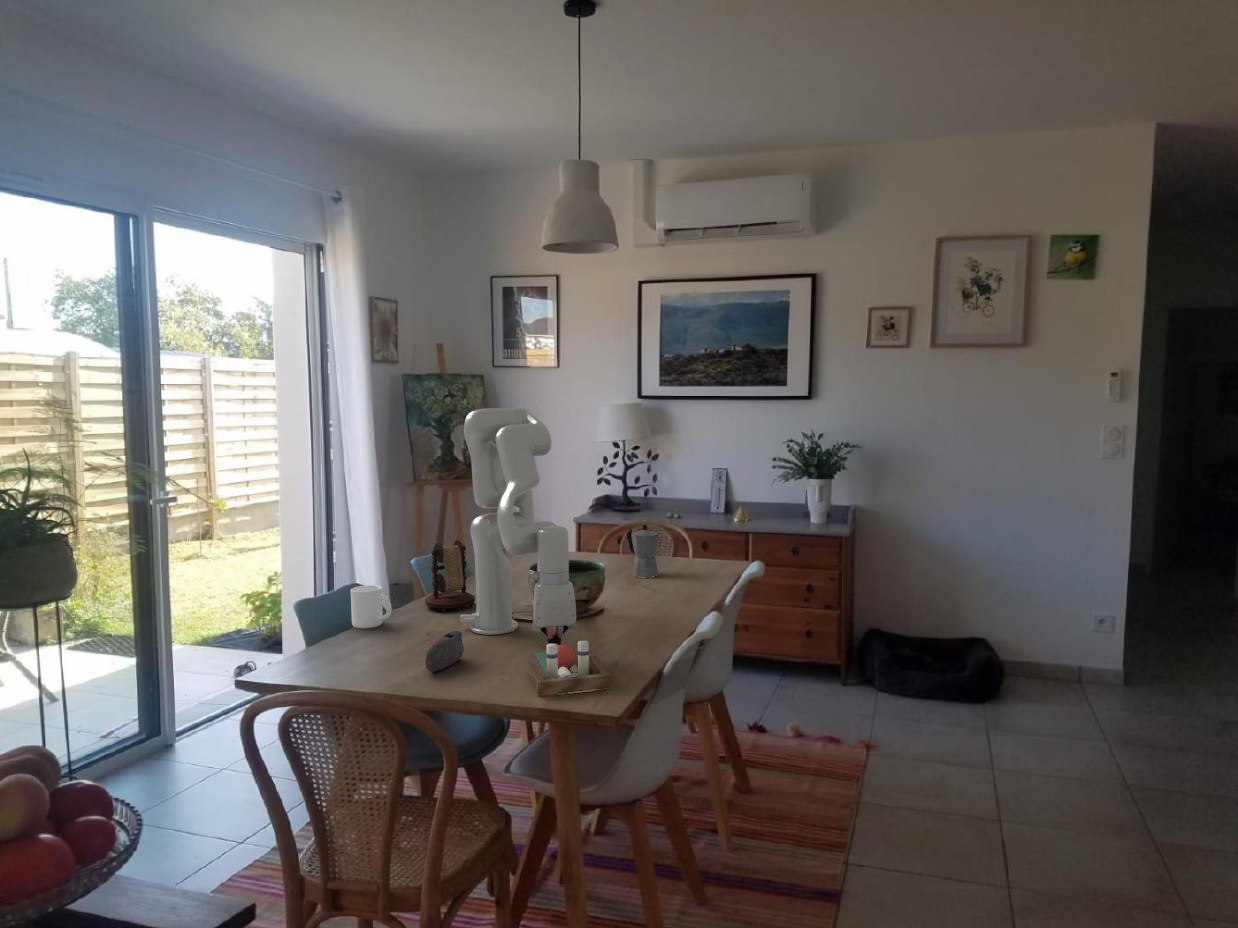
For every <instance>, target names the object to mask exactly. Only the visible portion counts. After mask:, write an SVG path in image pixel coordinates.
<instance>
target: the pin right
mask: <svg viewBox="0 0 1238 928" xmlns="http://www.w3.org/2000/svg"><path fill="white" fill-rule="evenodd" d="M589 646H590V645H589V641H588V640H579V641H578V642H577V666H578V676H585V675H590V656H589V655H590V653H589V652H590V648H589Z"/></svg>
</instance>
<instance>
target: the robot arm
mask: <svg viewBox="0 0 1238 928" xmlns="http://www.w3.org/2000/svg"><path fill="white" fill-rule="evenodd" d="M463 433H464V434H463V435H464V440H465V443H466V446H467V450H468V453H469V456H470V462H471V475H472V489H473V498H474V502H475V505H477V506H478V508H482V509H497V512H491V513H486V514H484V513H483V514H481V515H479V516H477V517H475V518H474V519H473V520H472V522H471V524H470V527H469V528H470V530H469V531H470V537H471V538H470V539H471V542H472V547H473V552H474V553H473V554H474V569H475V604H476V605H475V607H476V609H475V612H474V613H473V612H472V613H471V614H459V615H460V616H459V618H460V619H459V621H460V623H461V622H462V623H463V624H469V623H470V624H471V623H472V624H471V625H470V630H471V631H472V632H473V633H475V634H478V635H488V636H489V635H490V636H491V635H503V634H508V633H511V632H514V631H516V630H517V629H518V627H519V626H518V622H517V621H516V620H515V619H513V616H512V615H513V614H512V612H513V611H512V607H513V604H512V572H511V569H512V566H511V562H510V560H509V558H508V557H507V556H506V554H505V553H504V551H503V549H505V551H506V552H507V553H508V554H510V555H513V556H519V555H520V556H521V555H529V554H535V553H536V563H537V564H536V572H535V573H534V574H531V575H530V578H531V581H536V583H535V584H534V588H533V596H532V605H531V606H532V608H531V610H532V612H531V615H532V616H531V618H532V625H531V630H532V631H533V632H539V633H543V634H544V635H545V636H546V637H547V644H557V645H561V644H562V638H563V635H564V634H565V633H567V631H568V630H571V629H574V628H576V627H577V605H576V596H575V590H574V585H573V582H571V581H570V572H569V571H570V570H569V569H570V568H569V567H570V561H569V531H568V529H567V528H566V527H565V526H563V525H562V526H561V525H557V524H555V523H554V522H553V521H550V520H541V521H535V514H534V500H533V499H534V498H533V489H534V488H536V486H538V485H539V483H540V478H541V477H540V474H539V471H538V467H537V464H536V460H535V457H539V456H542V457H543V456H546V455H548V454H549V453H550V451H551V448H552V444H553V442H552V436H551V433H550V431H549V429H548V428H547V426H546V425H545V423H544V422H543V421H541V420H540V419H539V418H538V417H537V416H535V415H534V414H533V413H532V412H531V411H530V410H528V409H527V408H523V407H504V408H503V407H495V408H494V407H490V408H489V407H488V408H480V409H475V410H473V411H471V412H469V413H468V414H467V416H466V418H465V420H464V425H463ZM493 441H495V442H493ZM495 443H496V444H495ZM553 628H555V633H554V634H553Z"/></svg>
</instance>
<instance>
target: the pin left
mask: <svg viewBox="0 0 1238 928" xmlns="http://www.w3.org/2000/svg"><path fill="white" fill-rule="evenodd" d="M546 652H547V676H546V678H547V679H555V678H558V645H557V644H548V643H547V644H546Z"/></svg>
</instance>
